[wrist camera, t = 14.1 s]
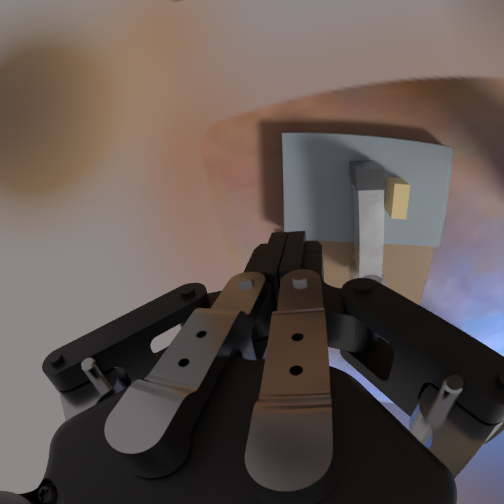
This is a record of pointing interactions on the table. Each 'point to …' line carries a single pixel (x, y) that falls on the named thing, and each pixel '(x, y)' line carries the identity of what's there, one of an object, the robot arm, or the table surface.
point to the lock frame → (341, 201)
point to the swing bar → (368, 220)
